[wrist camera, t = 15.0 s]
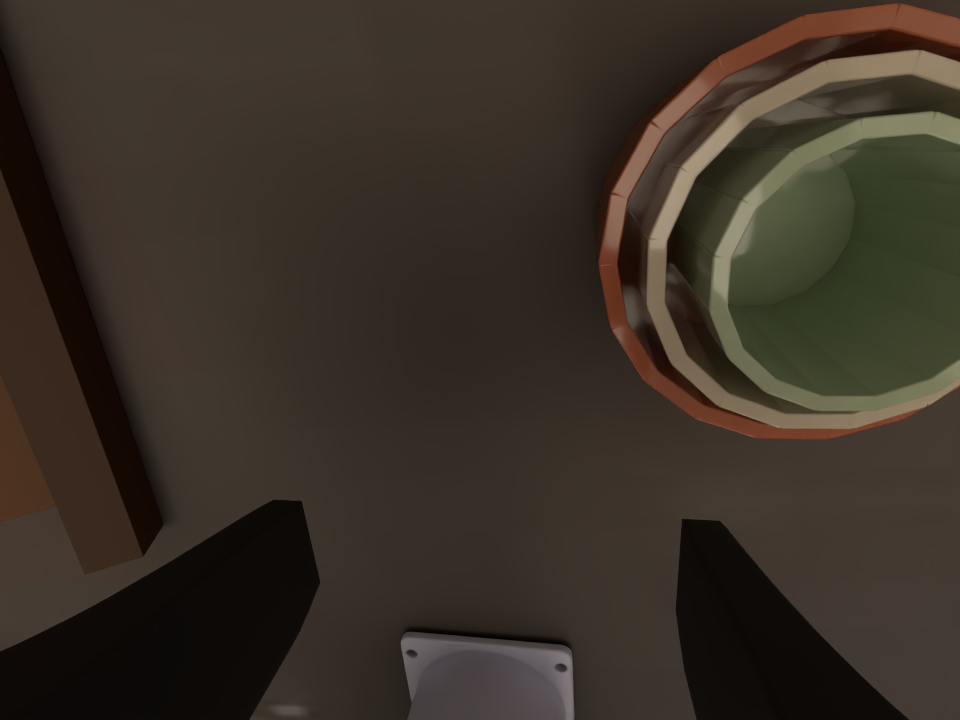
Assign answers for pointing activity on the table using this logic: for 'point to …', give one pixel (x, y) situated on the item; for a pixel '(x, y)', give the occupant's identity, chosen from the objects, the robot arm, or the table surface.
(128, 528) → the pan flute
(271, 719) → the table surface
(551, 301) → the table surface
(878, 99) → the stack top cup
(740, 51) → the stack base cup
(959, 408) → the table surface
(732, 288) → the sage cup
